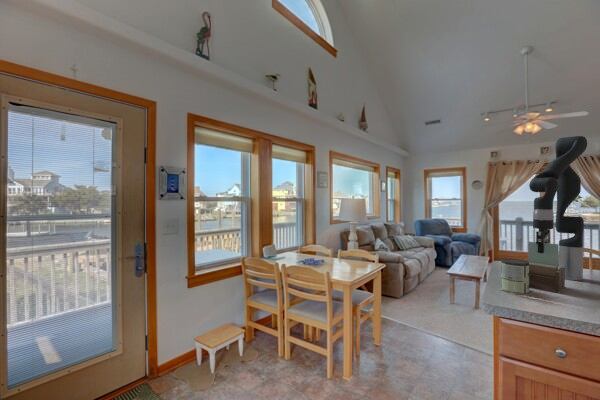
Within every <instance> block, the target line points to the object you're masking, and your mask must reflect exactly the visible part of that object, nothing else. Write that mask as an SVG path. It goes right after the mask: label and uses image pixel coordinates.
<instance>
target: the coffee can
mask: <svg viewBox="0 0 600 400" xmlns="http://www.w3.org/2000/svg"><path fill="white" fill-rule="evenodd" d="M500 262H501V264H500V266H501V267H500V268H501V269H500V272H501V275H500V276H501V277H500V279H501V280H500V281H501V282H500V285H501V291H503V292H504V293H508V294H511V295H516V296H526V294H528V293H529V292H530V287H529V262H528V260H525V259H517V258H501V259H500Z"/></svg>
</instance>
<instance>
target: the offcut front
mask: <svg viewBox="0 0 600 400" xmlns="http://www.w3.org/2000/svg"><path fill="white" fill-rule="evenodd" d="M529 272H531V273H537V274H543V275H549V276H555V272H556V267H550V266H543V265H537V264H530V263H529Z"/></svg>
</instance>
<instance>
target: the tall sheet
mask: <svg viewBox="0 0 600 400" xmlns="http://www.w3.org/2000/svg"><path fill="white" fill-rule="evenodd" d="M543 246H544V253H538V245H537V244H536V241H528V245H527V248H528V250H527V252H528V253H527V254H528V255H527V261H528V262H530V263H537V264H544V265H551V266H557V270H559V243H558V244H557V243H550V242H549V243H544V245H543Z"/></svg>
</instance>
